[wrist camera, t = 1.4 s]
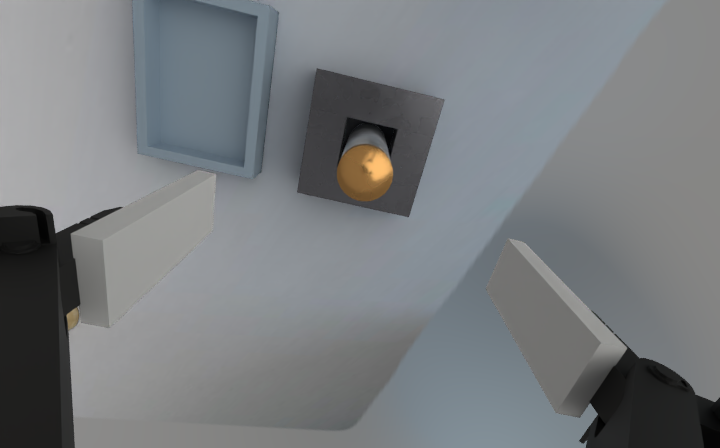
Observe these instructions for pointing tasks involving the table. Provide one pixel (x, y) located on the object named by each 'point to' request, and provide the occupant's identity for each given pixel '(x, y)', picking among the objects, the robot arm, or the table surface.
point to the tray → (204, 81)
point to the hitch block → (375, 105)
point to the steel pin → (365, 164)
